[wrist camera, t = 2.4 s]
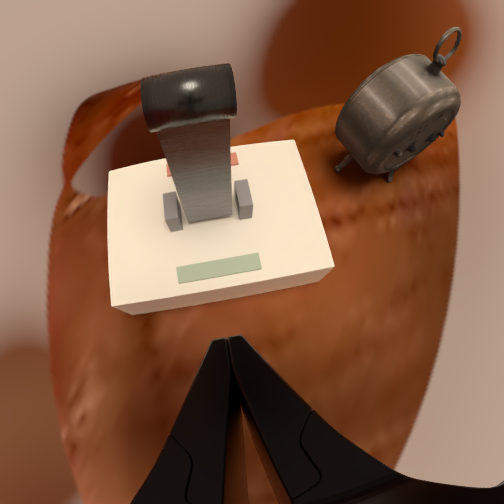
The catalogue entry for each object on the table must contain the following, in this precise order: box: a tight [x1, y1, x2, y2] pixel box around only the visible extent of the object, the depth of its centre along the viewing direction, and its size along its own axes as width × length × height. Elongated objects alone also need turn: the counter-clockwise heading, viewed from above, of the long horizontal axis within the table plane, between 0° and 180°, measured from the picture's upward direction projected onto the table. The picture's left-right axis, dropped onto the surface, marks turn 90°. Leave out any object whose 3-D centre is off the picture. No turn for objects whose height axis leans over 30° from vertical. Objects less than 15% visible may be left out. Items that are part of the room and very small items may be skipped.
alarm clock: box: [335, 27, 462, 182], centre depth 18 cm, size 11×5×16 cm, turn 120°
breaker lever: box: [141, 63, 237, 222], centre depth 14 cm, size 2×3×10 cm
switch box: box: [108, 140, 335, 315], centre depth 20 cm, size 10×14×6 cm
